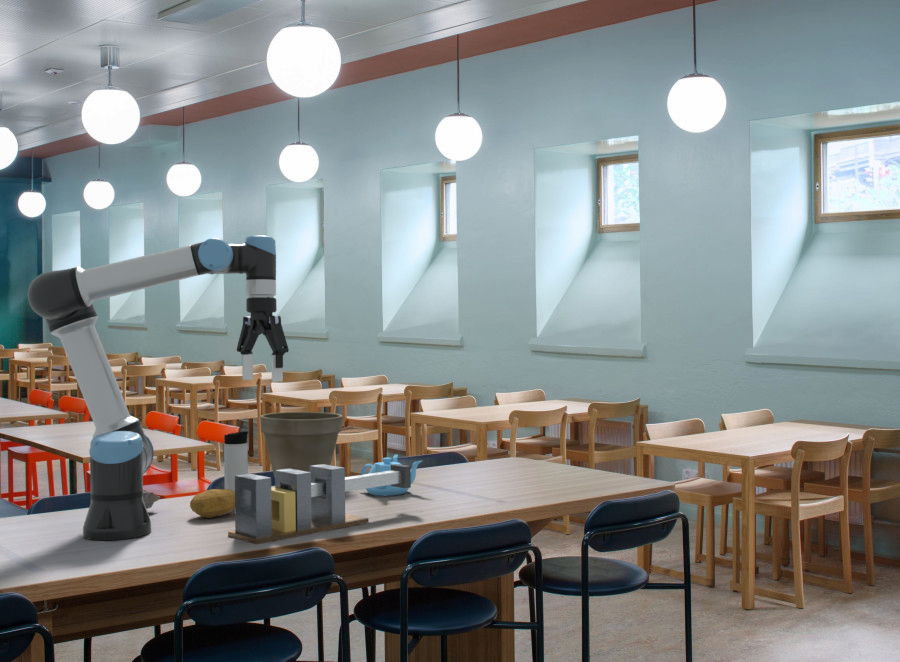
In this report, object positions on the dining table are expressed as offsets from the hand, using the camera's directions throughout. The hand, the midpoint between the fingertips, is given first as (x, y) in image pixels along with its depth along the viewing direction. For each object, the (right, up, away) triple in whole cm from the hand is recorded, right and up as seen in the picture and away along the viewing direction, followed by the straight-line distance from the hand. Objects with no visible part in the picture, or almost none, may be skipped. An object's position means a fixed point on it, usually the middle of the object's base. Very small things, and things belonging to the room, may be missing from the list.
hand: (262, 380), depth 242 cm
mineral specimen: (-34, -35, +7) cm, 49 cm away
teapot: (+31, -35, +33) cm, 57 cm away
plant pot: (+3, -35, +48) cm, 59 cm away
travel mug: (-11, -35, +19) cm, 41 cm away
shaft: (+23, -28, -4) cm, 37 cm away
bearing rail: (+12, -35, -15) cm, 40 cm away
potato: (-12, -35, +2) cm, 37 cm away
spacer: (+8, -34, -19) cm, 39 cm away
